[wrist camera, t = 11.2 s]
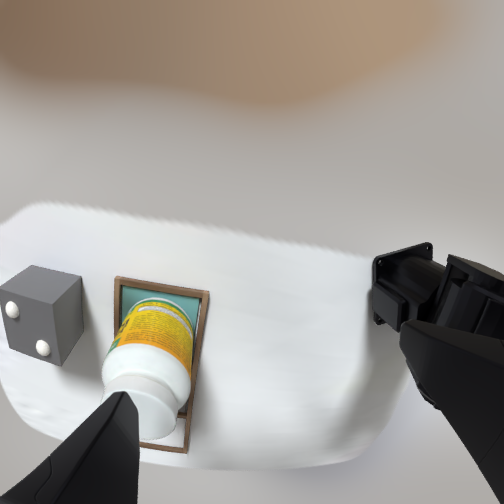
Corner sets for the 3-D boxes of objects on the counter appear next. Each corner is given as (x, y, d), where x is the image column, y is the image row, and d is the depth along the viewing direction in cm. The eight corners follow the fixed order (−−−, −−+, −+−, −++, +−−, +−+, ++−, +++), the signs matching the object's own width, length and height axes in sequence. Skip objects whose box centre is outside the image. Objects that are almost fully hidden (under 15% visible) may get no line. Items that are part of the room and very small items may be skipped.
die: (31, 265, 18) (-7, 291, 13) (81, 276, 19) (48, 308, 14) (36, 318, 19) (6, 352, 14) (83, 331, 20) (58, 371, 15)
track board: (116, 275, 19) (114, 278, 19) (208, 291, 21) (208, 294, 20) (125, 440, 24) (124, 443, 24) (186, 450, 26) (186, 453, 25)
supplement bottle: (188, 359, 22) (184, 454, 13) (124, 346, 21) (92, 434, 12) (199, 302, 21) (197, 393, 12) (129, 287, 20) (83, 367, 11)
